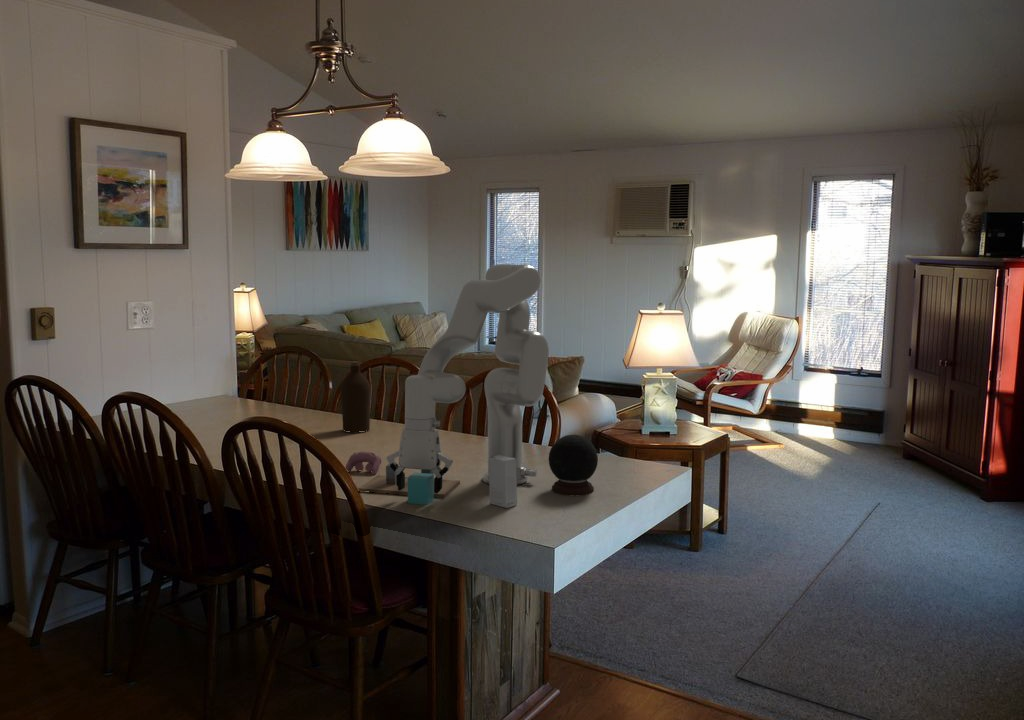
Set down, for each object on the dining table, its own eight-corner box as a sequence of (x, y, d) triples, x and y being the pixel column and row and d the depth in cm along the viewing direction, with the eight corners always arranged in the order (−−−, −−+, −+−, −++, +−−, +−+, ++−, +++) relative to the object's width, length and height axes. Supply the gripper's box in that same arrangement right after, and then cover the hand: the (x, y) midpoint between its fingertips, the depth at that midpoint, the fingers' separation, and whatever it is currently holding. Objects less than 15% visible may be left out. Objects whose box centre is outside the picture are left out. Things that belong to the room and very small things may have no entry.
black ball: (585, 499, 217) (586, 442, 215) (539, 492, 223) (540, 436, 222) (605, 487, 228) (606, 433, 227) (561, 481, 235) (561, 428, 233)
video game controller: (380, 477, 243) (384, 454, 246) (374, 474, 239) (378, 450, 242) (349, 475, 246) (353, 452, 248) (342, 472, 242) (347, 448, 244)
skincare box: (517, 505, 211) (518, 458, 210) (505, 509, 208) (505, 461, 207) (500, 500, 216) (500, 454, 214) (487, 504, 212) (487, 457, 211)
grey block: (398, 482, 229) (398, 464, 228) (395, 484, 226) (395, 466, 226) (389, 481, 229) (389, 463, 229) (386, 484, 227) (385, 466, 226)
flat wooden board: (459, 484, 231) (459, 462, 230) (444, 498, 217) (444, 475, 217) (378, 478, 236) (377, 457, 236) (358, 491, 223) (357, 469, 222)
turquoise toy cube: (433, 498, 217) (433, 473, 216) (427, 504, 212) (427, 479, 211) (414, 497, 218) (414, 472, 217) (407, 503, 213) (407, 477, 212)
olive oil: (353, 434, 295) (352, 364, 292) (335, 430, 302) (333, 361, 299) (377, 430, 303) (376, 361, 300) (358, 426, 310) (357, 359, 307)
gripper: (457, 423, 214) (456, 489, 216) (393, 419, 218) (392, 484, 220) (448, 429, 207) (447, 497, 208) (382, 424, 210) (381, 491, 212)
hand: (419, 490), depth 214 cm, fingers open, 9 cm apart
